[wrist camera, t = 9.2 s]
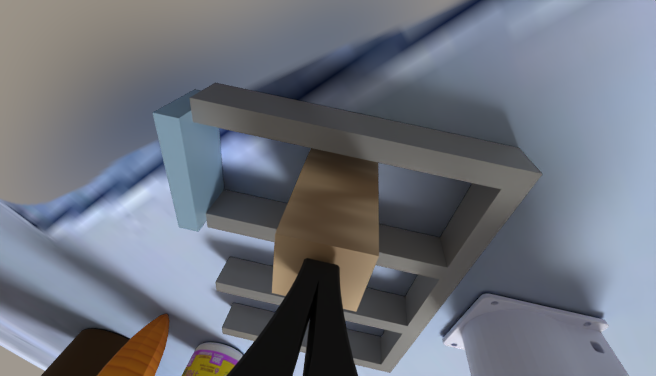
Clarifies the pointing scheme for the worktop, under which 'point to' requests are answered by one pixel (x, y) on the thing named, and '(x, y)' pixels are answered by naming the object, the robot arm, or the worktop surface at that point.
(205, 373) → the supplement bottle
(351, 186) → the tan rectangular block
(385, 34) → the worktop surface
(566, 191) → the worktop surface
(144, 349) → the carrot
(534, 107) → the worktop surface
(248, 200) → the gray divided frame
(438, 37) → the worktop surface
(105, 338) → the olive oil
